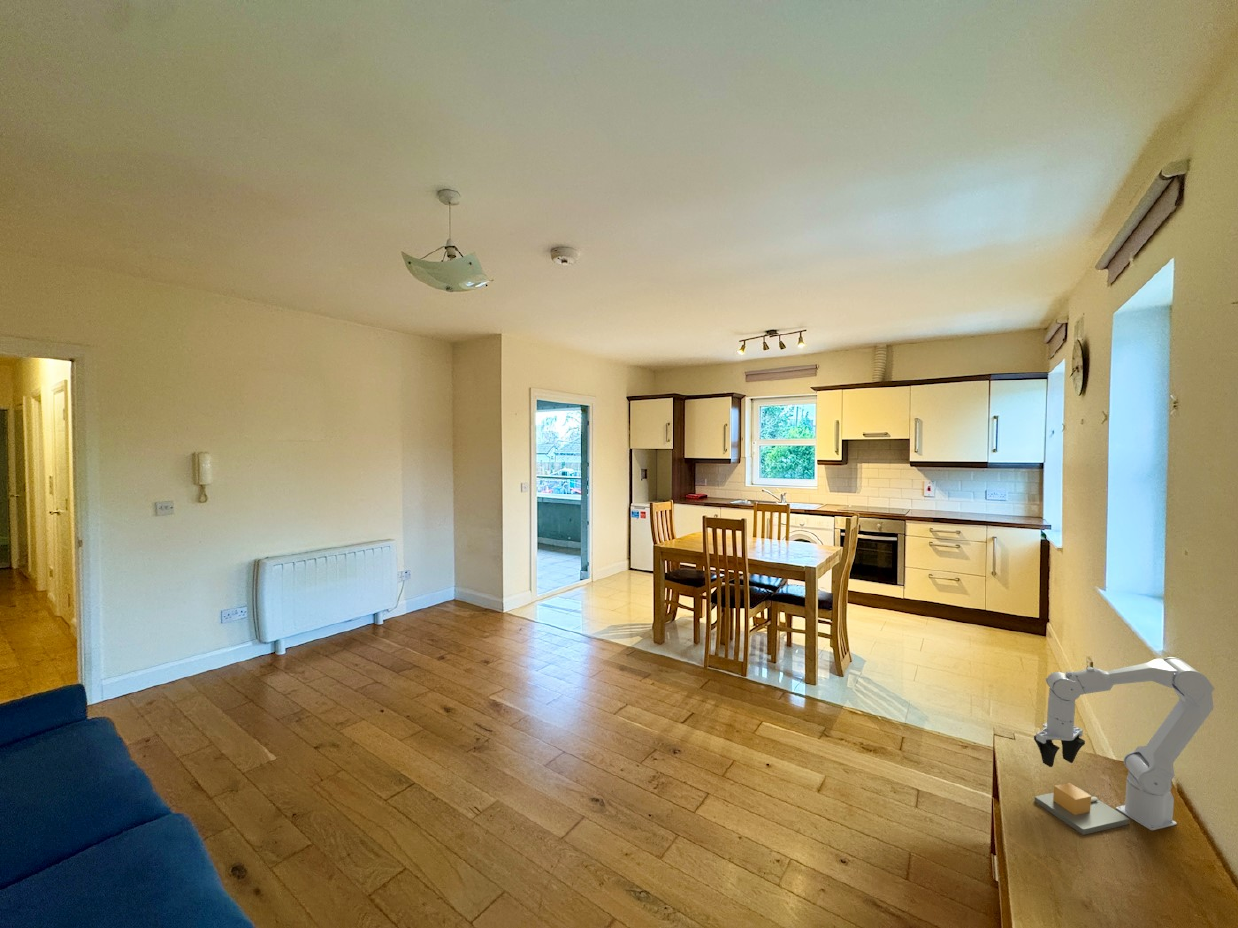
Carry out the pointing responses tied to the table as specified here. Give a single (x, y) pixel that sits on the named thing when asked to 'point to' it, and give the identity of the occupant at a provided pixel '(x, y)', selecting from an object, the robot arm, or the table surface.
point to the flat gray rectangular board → (1085, 815)
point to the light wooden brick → (1072, 798)
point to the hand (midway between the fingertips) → (1057, 762)
